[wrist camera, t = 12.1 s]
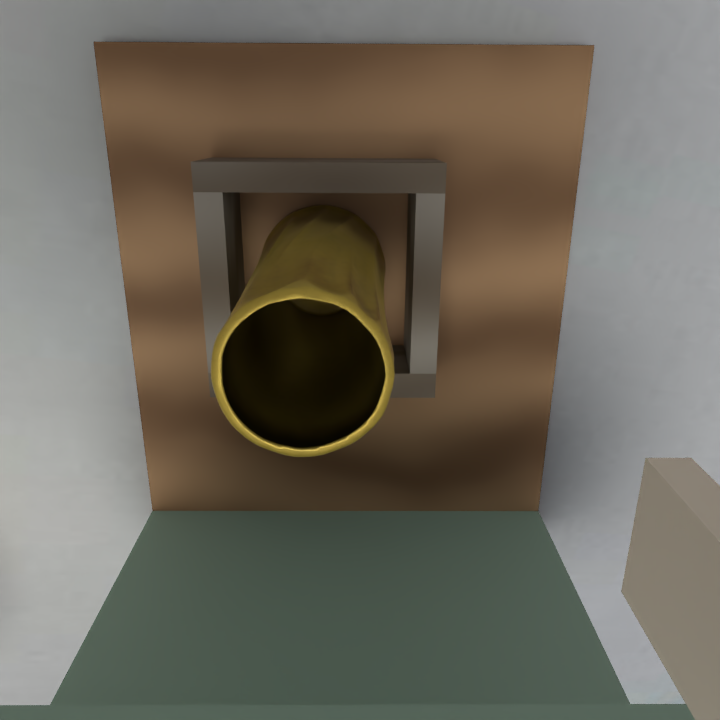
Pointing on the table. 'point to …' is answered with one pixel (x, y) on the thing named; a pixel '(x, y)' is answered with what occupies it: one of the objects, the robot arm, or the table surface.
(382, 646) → the green l-shaped post
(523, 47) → the socket board
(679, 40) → the table surface
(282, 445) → the vase
